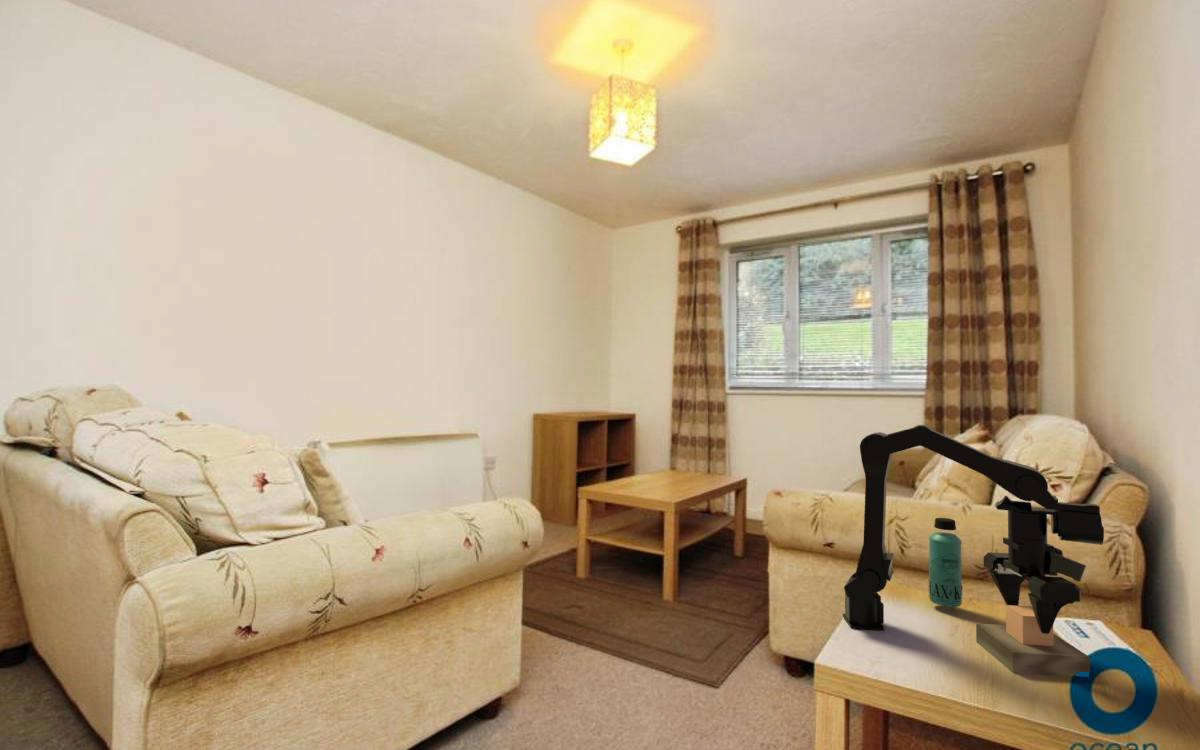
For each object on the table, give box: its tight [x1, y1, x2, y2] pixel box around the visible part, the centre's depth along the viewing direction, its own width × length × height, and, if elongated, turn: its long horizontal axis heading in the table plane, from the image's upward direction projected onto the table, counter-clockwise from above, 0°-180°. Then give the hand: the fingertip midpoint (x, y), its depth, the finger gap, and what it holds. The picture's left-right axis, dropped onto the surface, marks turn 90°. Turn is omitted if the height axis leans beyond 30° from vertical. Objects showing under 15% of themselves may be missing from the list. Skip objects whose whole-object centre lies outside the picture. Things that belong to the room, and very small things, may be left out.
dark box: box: [975, 623, 1091, 678], centre depth 102 cm, size 12×12×4 cm
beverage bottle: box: [927, 517, 963, 608], centre depth 126 cm, size 6×7×20 cm
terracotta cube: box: [1005, 605, 1054, 646], centre depth 102 cm, size 5×5×5 cm
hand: (1028, 622), depth 102 cm, fingers open, 9 cm apart
